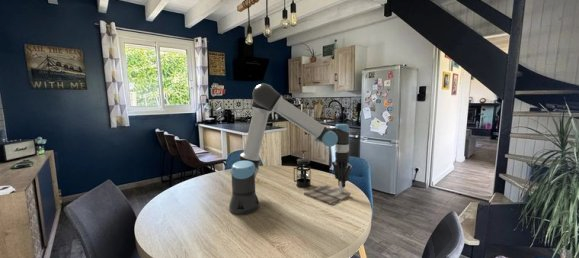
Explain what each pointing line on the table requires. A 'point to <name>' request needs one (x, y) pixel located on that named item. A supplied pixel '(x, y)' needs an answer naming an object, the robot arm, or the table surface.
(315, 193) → the laid board
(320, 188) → the plank
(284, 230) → the table surface
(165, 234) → the table surface
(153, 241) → the table surface
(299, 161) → the french press
